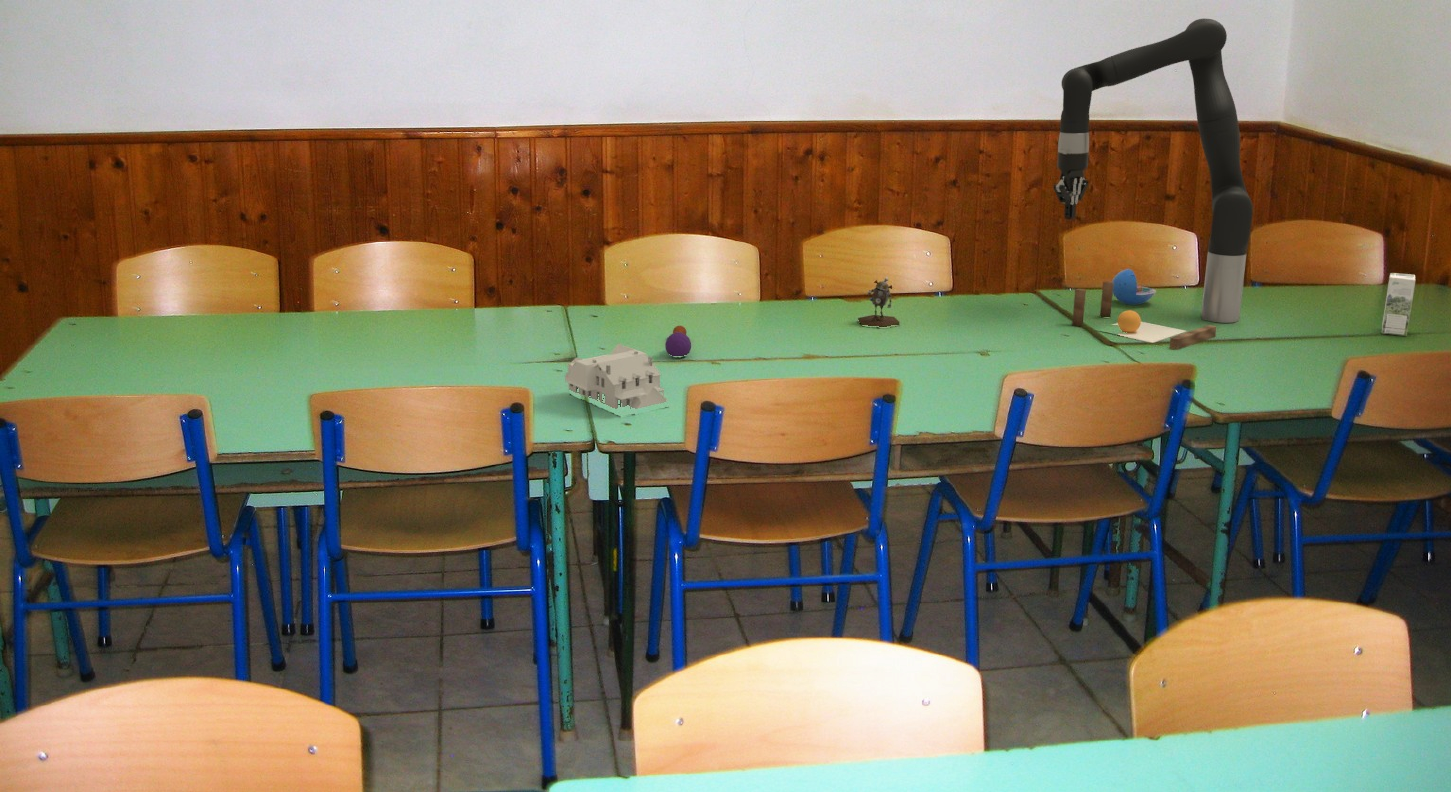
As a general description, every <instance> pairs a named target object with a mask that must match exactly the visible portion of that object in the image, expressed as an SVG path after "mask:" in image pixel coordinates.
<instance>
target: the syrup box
mask: <svg viewBox="0 0 1451 792" xmlns="http://www.w3.org/2000/svg"><path fill="white" fill-rule="evenodd" d="M1415 286H1416V275H1415V274H1410V273H1409V274H1408V273H1397V272H1390V273H1389V277H1388V284H1387V290H1386V297H1385V302H1384V303H1385V305H1384V311H1383V317H1382V324H1381V334H1383V335H1391V336H1401V337H1407V335H1408V330H1409V324H1410V323H1409V322H1410V317H1411V311H1412V305H1413V299H1414V294H1415V293H1414V292H1415Z"/></svg>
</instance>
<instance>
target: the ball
mask: <svg viewBox="0 0 1451 792" xmlns="http://www.w3.org/2000/svg"><path fill="white" fill-rule="evenodd" d="M1141 322H1142V319H1141V317H1140V315H1139V313H1137V311H1134V310H1130V309H1129V310H1124V311H1123V312H1121V313H1120V314H1119V316H1118V318H1117V323H1118V326H1119V328H1120V329H1121V330H1122V331H1124V332H1127V333H1132V332H1134V331H1136V330H1137V329H1138V328H1139V327H1140V324H1141Z"/></svg>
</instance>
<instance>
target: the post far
mask: <svg viewBox="0 0 1451 792" xmlns="http://www.w3.org/2000/svg"><path fill="white" fill-rule="evenodd" d="M1113 284H1114V283H1113V282H1112V281H1103V282H1102V290H1101V302H1100V314H1099V317H1100V316H1101V317H1100V318H1102V317H1110V318H1111V317H1112V306H1113V305H1112V304H1113V295H1114V294H1113Z"/></svg>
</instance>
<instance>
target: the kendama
mask: <svg viewBox="0 0 1451 792" xmlns="http://www.w3.org/2000/svg"><path fill="white" fill-rule="evenodd" d="M691 349H692V341H691V339H690V337H689V336H688V335H687V328H686V327H685V326H683V325H676V326H675V327H674V328H673V329H672V333H670V335H669V336H668V337H667V339H666V340H665V351H666V353H667V354H668V355H669V354H670V355H672V356H684V355H687V354H688V355H689V354H690V352H691ZM670 355H669V356H670ZM688 355H687V356H688Z"/></svg>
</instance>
